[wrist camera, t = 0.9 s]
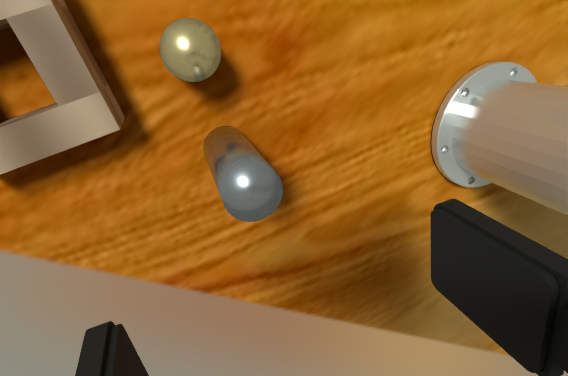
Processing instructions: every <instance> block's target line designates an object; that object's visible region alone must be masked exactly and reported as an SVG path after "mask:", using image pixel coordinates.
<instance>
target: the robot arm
mask: <svg viewBox="0 0 568 376" xmlns="http://www.w3.org/2000/svg"><path fill="white" fill-rule="evenodd" d="M431 144H432V154H433V158H434V161H435V164H436V166H437V168H438V170H439V171H440V172H441V173H442V174H443V176H444V177H445V178H447V179H449V180H450V181H452V182H454V183H456V184H458V185H460V186H464V187H481V186H484V185H488V184H490V183H494V184H496V185H498V186H501V187H503V188H505V189H507V190H510V191H512V192H514V193H517V194H519V195H521V196H523V197H526V198H528V199H530V200H532V201H535V202H537V203H539V204H542V205H544V206H546V207H548V208H551V209H553V210H555V211H557V212H560V213H562V214H564V215H567V216H568V86H556V85H548V84H540V83H537V81H536V79H535V77H534V76H533V74H532V73H531V72H530V71H529V70H528V69H527V68H525V67H523V66H521V65H520V64H517V63H512V62H500V61H497V62H491V63H486V64H484V65H481V66H479V67H476V68H475V69H473V70H472V71H470V72H469V73H467V74H466V75H465V76H464V77H462V78H461V79H460V80H459V81H458V82H457V83H456V84H455V85H454V87H453V88H452V89H451V90H450V92H449V93H448V94H447V96H446V98H445V99H444V101H443V103H442V104H441V106H440V109H439V111H438V113H437V116H436V118H435V122H434V126H433V130H432V140H431ZM431 280H432V283H433V285H434V286H435V288H436V289H437V290H438V291H439V292H440V293H441V294H442V295H444V296H445V297H446V298H447V299H448V300H449V301H450V302H451V303H453V304H454V305H455V306H456V307H457V308H458V309H459V310H460V311H461V312H463V313H464V314H465V315H466V316H467V317H468V318H469V319H470V320H471V321H473V322H474V323H475V324H476V325H477V326H478V327H479V328H480V329H482V330H483V331H484V332H485V333H486V334H487V335H488V336H489V337H490V338H492V339H493V340H494V341H495V342H496V343H497V344H498V345H499V346H501V347H502V348H503V349H504V350H505V351H506V352H507V353H508V354H509V355H511V356H512V357H513V358H514V359H515V360H516V361H517V362H519V363H520V364H521V365H522V366H523V367H524V368H525V369H526V370H528V371H530V372H532V373H536V374H538V375H539V376H561V375H563V372H564V370H565V371H566V372H567V373H568V259H566V258H564V257H562V256H560V255H559V254H557V253H555V252H553V251H551V250H549V249H547V248H546V247H544V246H542V245H540V244H538V243H536V242H535V241H533V240H531V239H529V238H527V237H525V236H523V235H522V234H520V233H518V232H516V231H514V230H512V229H510V228H509V227H507V226H505V225H503V224H501V223H499V222H497V221H496V220H494V219H492V218H490V217H488V216H486V215H484V214H483V213H481V212H479V211H477V210H475V209H473V208H471V207H470V206H468V205H466V204H464V203H462V202H460V201H458V200H456V199H450V200H447V201H445V202H442V203H439V204H437V205H435V207H434V210H433V211H432V212H431ZM75 376H149V375H148V373H147V371H146V369H145V367H144V366H143V364H142V362H141V360H140V358H139V356H138V354H137V352H136V350H135V348H134V346H133V344H132V342H131V341H130V338H129V337H128V334H127V333H126V331H125V329H124V327H123V325H122V324H118V325H114V323H113V322H111V321H109V322H107V323H104V324H101V325H99V326H96V327H93V328H90V329H88V330H87V331H86V333H85V336H84V340H83V345H82V349H81V353H80V357H79V362H78V367H77V370H76V375H75Z"/></svg>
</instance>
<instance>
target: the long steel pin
mask: <svg viewBox="0 0 568 376" xmlns="http://www.w3.org/2000/svg"><path fill="white" fill-rule="evenodd" d="M204 154H205V156H206V159H207V162H208V164H209V167H210V169H211V172H212V175H213V177H214V180H215V182H216V185H217V188H218V190H219V193H220V195H221V198H222V201H223V203H224V206H225V208H226V210H227V211H228V212H229V213H230V214H231V215H232V216H233V217H235V218H236V219H239V220H242V221H247V222H253V221H258V220H261V219H264V218H266V217H268V216H269V215H271V214H272V213H273V212H274V211H275V210H276V209H277V207H278V206H279V204H280V202H281V199H282V196H283V185H282V181H281V179H280V177H279V176H278V174H277V173H276V172H275V171H274V170H273V168H272V167H271V166H270V165H269V164H268V163H267V161H266V160H265V159H264V158H263V157H262V156H261V154H260V153H259V152H258V151H257V150H256V149H255V147H254V146H253V145H252V144H251V143H250V142H249V140H248V139H247V138H246V137H245V136H244V135H243V133H242V132H241V131H240V130H238V129H236V128H234V127H231V126H221V127H218V128H216V129H214V130H212V131H211V132H210V133H209V134H208V136H207V137H206V139H205V142H204Z"/></svg>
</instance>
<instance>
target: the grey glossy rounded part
mask: <svg viewBox="0 0 568 376" xmlns="http://www.w3.org/2000/svg"><path fill="white" fill-rule="evenodd" d="M160 55H161V58H162V61H163V63H164V65H165V66H166V68H167V69H168V70H169V72H171V73H172V74H173V75H174V76H175V77H177V78H179V79H181V80H184V81H188V82H198V81H202V80H204V79H207V78H208V77H210V76H211V75H212V74H213V73H214V72H215V70H216V69H217V67H218V65H219V63H220V59H221V47H220V43H219V40H218V38H217V36H216V34H215V33H214V31H213V30H212V29H211V28H210V27H209V26H208V25H207V24H205V23H203V22H202V21H199V20H196V19H192V18H183V19H179V20H177V21H174V22H173V23H171V24H170V25H169V26H168V27H167V28H166V29H165V31H164V32H163V34H162V36H161V39H160Z"/></svg>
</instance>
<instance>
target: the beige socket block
mask: <svg viewBox="0 0 568 376" xmlns="http://www.w3.org/2000/svg"><path fill="white" fill-rule="evenodd" d="M10 27H11V28H12V29H13V31H14V33H15V34H16V36H17V38H18V39H19V41H20V43H21V44H22V46H23V48H24V49H25V51H26V53H27V54H28V56H29V58H30V59H31V61H32V63H33V64H34V66H35V68H36V69H37V71H38V73H39V74H40V76H41V78H42V79H43V81H44V83H45V84H46V86H47V88H48V89H49V91H50V93H51V94H52V96H53V98H54V99H55V101H56V103H54V104H51V105H48V106H46V107H43V108H40V109H37V110H34V111H32V112H29V113H26V114H23V115H20V116H17V117H15V118H12V119H9V120H6V121H3V122H1V123H0V175H1V174H3V173H6V172H9V171H11V170H14V169H17V168H19V167H22V166H25V165H27V164H30V163H32V162H35V161H38V160H40V159H43V158H46V157H48V156H51V155H54V154H56V153H59V152H62V151H64V150H67V149H70V148H72V147H75V146H78V145H80V144H83V143H86V142H88V141H91V140H94V139H96V138H99V137H102V136H104V135H107V134H110V133H112V132H115V131H118V130H120V129H121V126H122V124H123V122H124V119H125V116H124V114H123V112H122V110H121V108H120V106H119V104H118V102H117V100H116V98H115V96H114V95H113V93H112V91H111V89H110V87H109V85H108V83H107V81H106V79H105V77H104V75H103V73H102V72H101V70H100V68H99V66H98V64H97V62H96V60H95V58H94V56H93V54H92V52H91V50H90V48H89V47H88V45H87V43H86V41H85V39H84V37H83V35H82V33H81V31H80V29H79V27H78V25H77V24H76V22H75V20H74V18H73V16H72V14H71V12H70V10H69V8H68V6H67V4H66V2H65V1H64V0H0V30H3V29H6V28H10Z"/></svg>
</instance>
